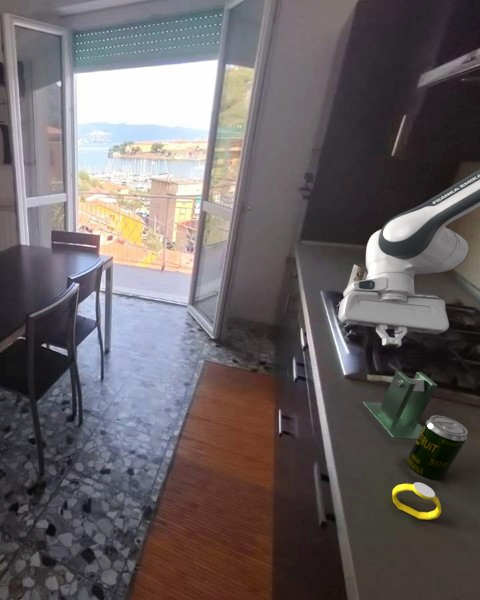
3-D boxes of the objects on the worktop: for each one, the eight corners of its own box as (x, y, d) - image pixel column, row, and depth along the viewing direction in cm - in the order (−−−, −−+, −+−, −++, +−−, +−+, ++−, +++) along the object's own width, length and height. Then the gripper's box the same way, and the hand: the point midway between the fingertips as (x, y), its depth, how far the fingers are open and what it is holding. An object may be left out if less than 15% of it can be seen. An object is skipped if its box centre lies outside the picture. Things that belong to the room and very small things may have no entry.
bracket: (361, 405, 86) (379, 361, 80) (397, 407, 85) (418, 363, 79) (391, 441, 76) (414, 393, 70) (433, 444, 75) (459, 396, 69)
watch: (387, 507, 63) (399, 484, 60) (387, 496, 64) (399, 473, 62) (433, 529, 59) (448, 505, 57) (432, 516, 61) (446, 492, 58)
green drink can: (424, 460, 71) (449, 414, 66) (449, 484, 66) (478, 436, 61) (397, 460, 71) (420, 414, 66) (420, 484, 66) (447, 437, 61)
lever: (367, 382, 85) (367, 372, 85) (394, 383, 84) (394, 373, 85) (402, 390, 74) (402, 379, 74) (434, 392, 74) (434, 380, 74)
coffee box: (375, 314, 127) (391, 271, 120) (357, 314, 127) (372, 272, 120) (358, 303, 135) (371, 262, 128) (340, 303, 135) (353, 263, 128)
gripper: (435, 300, 86) (439, 356, 82) (336, 291, 92) (335, 342, 88) (453, 291, 80) (458, 350, 76) (345, 281, 87) (345, 335, 83)
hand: (391, 345), depth 82 cm, fingers closed
